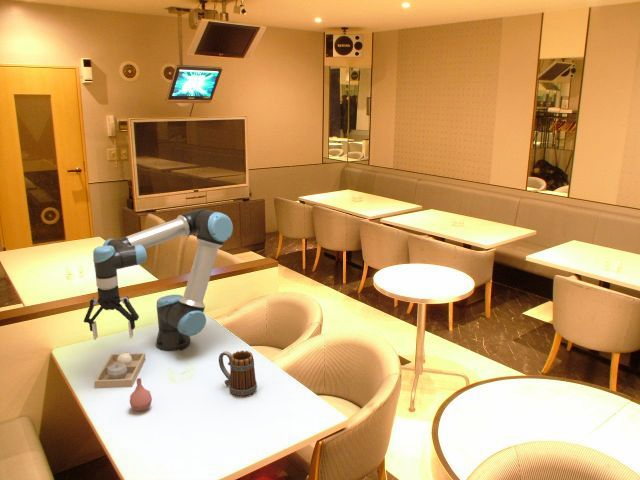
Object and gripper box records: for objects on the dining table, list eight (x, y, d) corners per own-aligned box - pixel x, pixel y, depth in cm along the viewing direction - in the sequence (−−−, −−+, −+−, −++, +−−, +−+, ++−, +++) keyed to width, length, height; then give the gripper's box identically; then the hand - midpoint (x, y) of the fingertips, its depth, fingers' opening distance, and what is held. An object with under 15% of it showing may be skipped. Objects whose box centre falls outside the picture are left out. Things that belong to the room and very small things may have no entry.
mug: (262, 387, 214) (261, 352, 210) (247, 400, 204) (246, 364, 200) (228, 378, 220) (226, 344, 216) (213, 391, 211) (211, 355, 207)
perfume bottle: (129, 405, 201) (126, 376, 198) (151, 401, 204) (148, 372, 201) (131, 416, 194) (128, 386, 191) (153, 412, 197) (151, 382, 194)
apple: (132, 379, 218) (130, 364, 216) (113, 387, 212) (111, 371, 211) (122, 372, 223) (121, 358, 222) (104, 379, 218) (102, 365, 216)
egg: (134, 362, 231) (133, 350, 230) (130, 369, 226) (129, 356, 224) (119, 363, 231) (118, 350, 229) (115, 370, 225) (114, 357, 224)
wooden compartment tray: (145, 360, 234) (145, 353, 233) (132, 388, 213) (131, 379, 212) (112, 361, 233) (111, 354, 232) (95, 389, 212) (94, 381, 211)
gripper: (143, 281, 212) (148, 331, 218) (77, 284, 210) (83, 334, 216) (139, 288, 205) (144, 340, 211) (70, 291, 203) (77, 343, 209)
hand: (113, 337), depth 214 cm, fingers open, 13 cm apart
